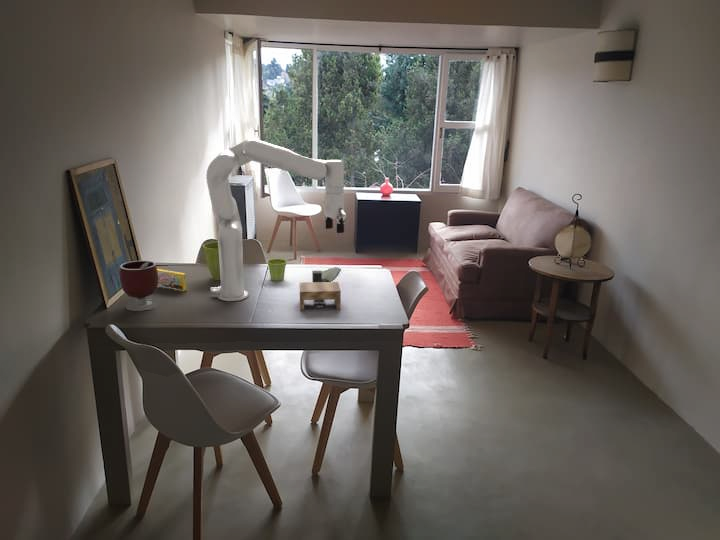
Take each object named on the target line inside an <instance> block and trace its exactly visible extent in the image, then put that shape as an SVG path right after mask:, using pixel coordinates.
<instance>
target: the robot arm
mask: <svg viewBox="0 0 720 540" xmlns="http://www.w3.org/2000/svg"><path fill="white" fill-rule="evenodd" d="M250 162H256V163H259V164H262V165H266V166H268V167H272V168H275V169H278V170H282V171H284V172H288V173H292V174H295V175H299V176H301V177H305V178H308V179H312V180H315V181H319V180H322V179H324V178H325V180H324V181H325V189H324V190H325V194H324V202H323V215H324V219H325V229H327V230H330V229H333V228H334V226H333V224H334V221H333V220H335V219H336V233H337V234H343V233H345V223H346V222H345V221H346V219H347V214H346V213H345V199H344V194H345V193H344V191H345V190H344V188H345V187H344V180H345V179H344V178H345V177H344V176H345V175H344V174H345V173H344V171H345V170H344V165H345V164H344V161H343V160H340V159H326V160H325V159H320V158H319V159H318V158H309V157H307V156H303V155H301V154H298V153H296V152H294V151H292V150H290V149H288V148H285V147H283V146H280V145H275V144H272V143H269V142H266V141H263V140H259V138H257V137H256V138H255V137H249V138H247V139H245V140H244V141H242V142H240V143H238V144H235V145H233V146H231V147H229V148H228V149H225V150H222V151H221V152H220V153H219V154H218V155H217V156H215V157H214V158H213V160H211V162H210V163H209V165H208V166H207V169H206V184H207V188H208V189H207V190H208V193H209V199H210V201H211V202H210V203H211V209H212V212H213V215H214V216H215V217H216V222H217V226H218V231H217V242H218V248H219V262H220V279H221V280H220V286H218V287H217V286H214V287H213V286H211V287H210V293H212V294H217V298H218V300H220V301H225V302H234V301H235V302H237V301H243V300H245V299H246V298H248V297H249V293H248V291H247V290H245V278H244V277H245V276H244V257H243V226H242V223H241V222H242V221H241V216H240V213H239V209H238V205H237V201H236V199H235V197H233V194H232V189H231V186H230V180H229V178H230V175H231V174H233V173H234V172H235V171H236V170H237V169H239V168H240V167H242V166H244V165H246V164H249V163H250Z"/></svg>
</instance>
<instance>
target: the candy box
mask: <svg viewBox="0 0 720 540" xmlns="http://www.w3.org/2000/svg"><path fill="white" fill-rule="evenodd" d="M157 271H158V285H161V286H165V287H171V288H176V289H180V290H186V289H187V280H186V273H185V272H180V271H179V272H178V271H175V270H174V271H173V270H172V271H171V270H168V269H167V270H166V269H161V268H157Z"/></svg>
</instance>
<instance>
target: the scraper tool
mask: <svg viewBox="0 0 720 540" xmlns="http://www.w3.org/2000/svg"><path fill="white" fill-rule="evenodd" d="M311 275H312V276H311V277H312V279H311V280H312V281H311V282H323V281H322V270H312V273H311ZM313 301H314V302H318V301H322V302H325V300H313Z"/></svg>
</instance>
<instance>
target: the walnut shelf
mask: <svg viewBox="0 0 720 540" xmlns="http://www.w3.org/2000/svg"><path fill="white" fill-rule="evenodd" d="M341 292H342V291H341V287H340V284H339V281H332V282H325V281H322V282H312V281H310V282H307V281H306V282H304V281H303V282H299V311H300V312H305V301H314V300H324V301H325V300H327V301H328V300H329V301H331V300H334V304H336V305H335V309H336V310H337V311H341V305H342V304H341V300H342V299H341V295H342V293H341Z"/></svg>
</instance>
